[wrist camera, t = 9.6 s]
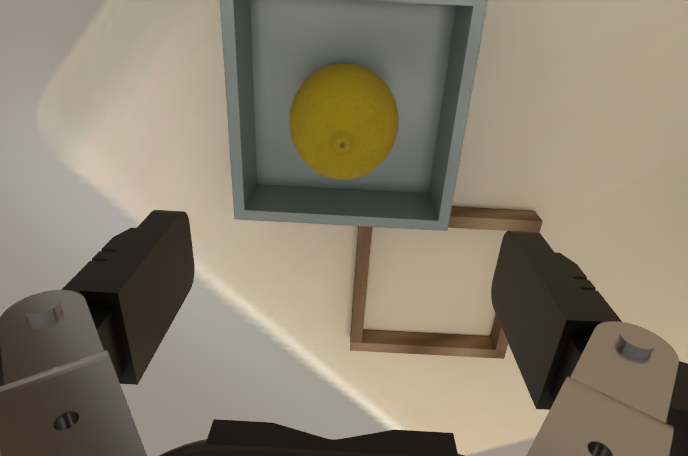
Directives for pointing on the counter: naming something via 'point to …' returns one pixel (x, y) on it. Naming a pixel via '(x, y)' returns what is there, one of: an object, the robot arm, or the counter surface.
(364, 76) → the lemon
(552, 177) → the counter surface
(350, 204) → the bin
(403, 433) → the robot arm
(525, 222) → the tray
